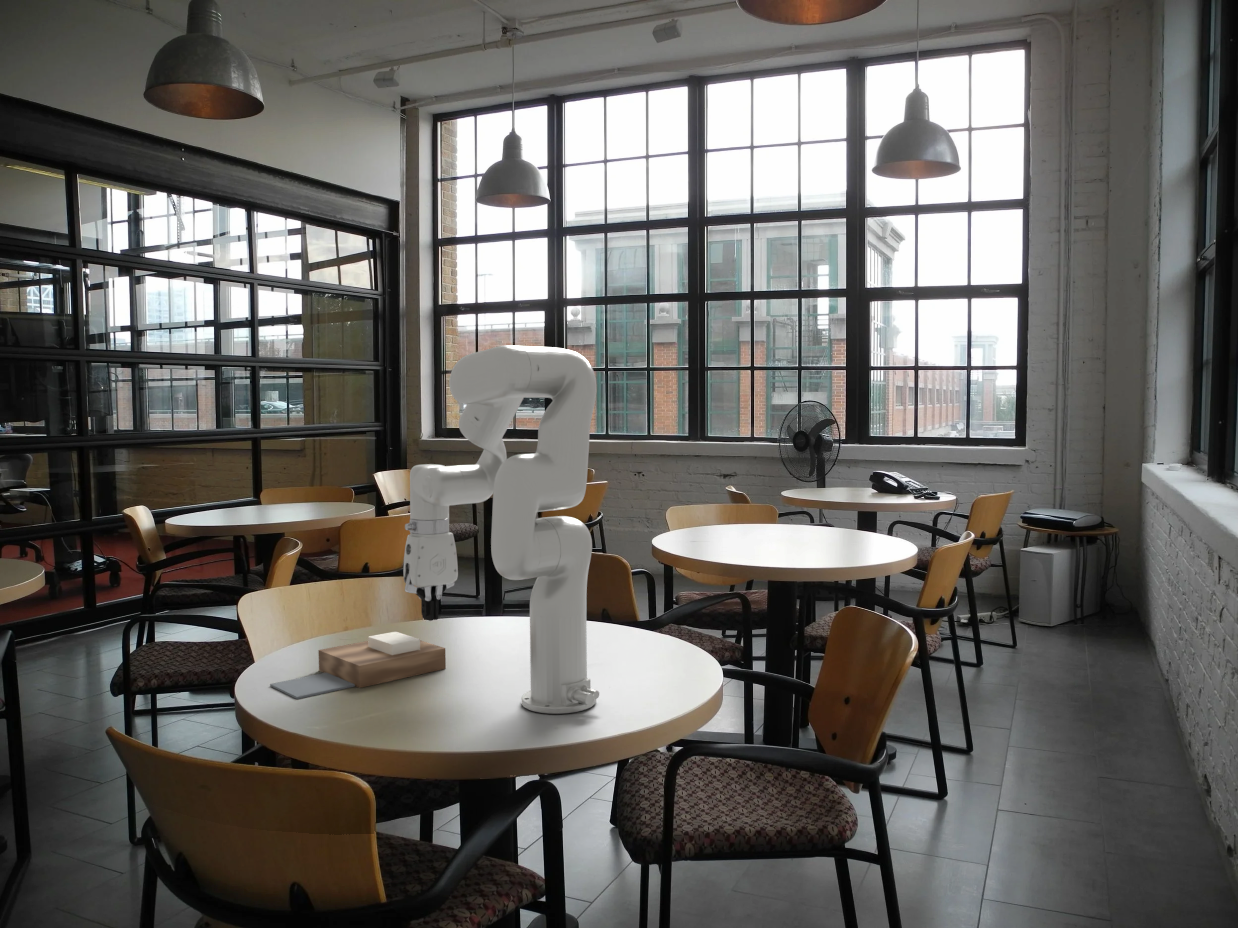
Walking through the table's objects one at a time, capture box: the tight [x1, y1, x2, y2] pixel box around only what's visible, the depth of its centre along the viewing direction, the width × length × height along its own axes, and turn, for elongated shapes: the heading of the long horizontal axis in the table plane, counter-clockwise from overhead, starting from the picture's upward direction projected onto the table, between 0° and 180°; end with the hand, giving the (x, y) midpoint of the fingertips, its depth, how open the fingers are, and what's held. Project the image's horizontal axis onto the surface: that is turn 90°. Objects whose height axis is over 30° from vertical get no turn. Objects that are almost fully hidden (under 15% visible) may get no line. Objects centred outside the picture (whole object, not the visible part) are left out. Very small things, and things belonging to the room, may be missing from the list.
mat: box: [269, 672, 356, 700], centre depth 169 cm, size 11×11×1 cm
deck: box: [318, 639, 447, 689], centre depth 180 cm, size 16×18×4 cm
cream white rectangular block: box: [367, 631, 421, 655], centre depth 181 cm, size 9×6×2 cm, turn 43°
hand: (430, 618), depth 187 cm, fingers closed
